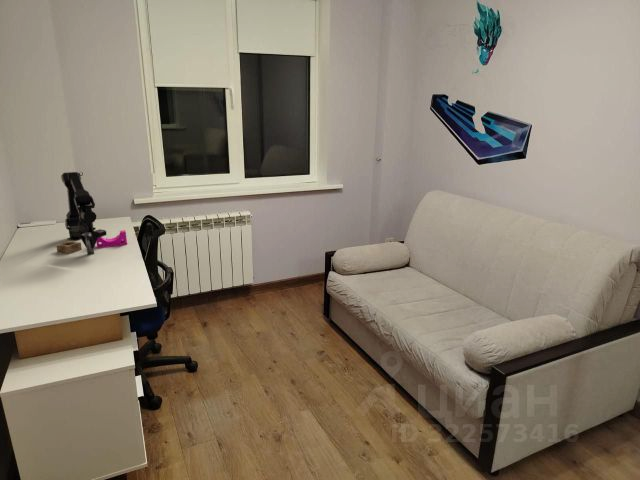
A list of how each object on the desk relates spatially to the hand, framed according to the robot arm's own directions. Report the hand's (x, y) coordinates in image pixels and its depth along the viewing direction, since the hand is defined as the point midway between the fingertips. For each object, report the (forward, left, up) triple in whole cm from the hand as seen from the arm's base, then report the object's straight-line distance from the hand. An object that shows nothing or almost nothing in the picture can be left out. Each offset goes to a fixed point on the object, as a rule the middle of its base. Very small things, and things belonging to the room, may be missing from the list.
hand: (90, 248), depth 229 cm
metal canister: (0, 0, -3) cm, 3 cm away
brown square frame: (-14, 0, -3) cm, 14 cm away
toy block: (-2, +17, -4) cm, 17 cm away
